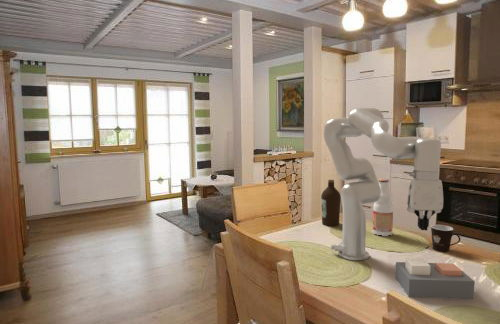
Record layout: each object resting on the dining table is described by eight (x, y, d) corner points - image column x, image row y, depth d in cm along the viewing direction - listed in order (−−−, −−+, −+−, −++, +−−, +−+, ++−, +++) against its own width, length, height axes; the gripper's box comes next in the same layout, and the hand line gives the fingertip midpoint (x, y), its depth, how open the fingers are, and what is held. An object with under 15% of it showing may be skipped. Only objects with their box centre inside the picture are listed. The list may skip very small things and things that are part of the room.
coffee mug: (425, 246, 158) (426, 225, 157) (443, 245, 159) (444, 224, 158) (442, 256, 147) (443, 233, 146) (461, 255, 148) (462, 232, 146)
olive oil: (336, 220, 201) (337, 178, 198) (343, 226, 190) (343, 181, 187) (318, 221, 200) (319, 178, 197) (324, 227, 189) (324, 181, 186)
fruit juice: (381, 237, 171) (383, 181, 168) (368, 232, 179) (370, 178, 176) (396, 235, 174) (398, 180, 171) (383, 230, 183) (384, 177, 180)
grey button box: (408, 296, 113) (409, 279, 113) (395, 277, 127) (395, 262, 127) (473, 299, 111) (474, 281, 111) (452, 279, 125) (453, 263, 125)
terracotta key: (442, 283, 116) (442, 270, 115) (434, 275, 122) (435, 263, 121) (461, 283, 115) (462, 270, 115) (452, 275, 121) (453, 263, 121)
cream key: (411, 278, 117) (411, 265, 116) (405, 270, 123) (405, 258, 122) (429, 278, 116) (430, 266, 116) (422, 271, 122) (423, 259, 122)
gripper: (407, 177, 112) (404, 232, 114) (455, 177, 111) (451, 233, 113) (398, 173, 119) (396, 225, 122) (444, 174, 118) (440, 226, 121)
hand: (422, 229), depth 118 cm, fingers closed
